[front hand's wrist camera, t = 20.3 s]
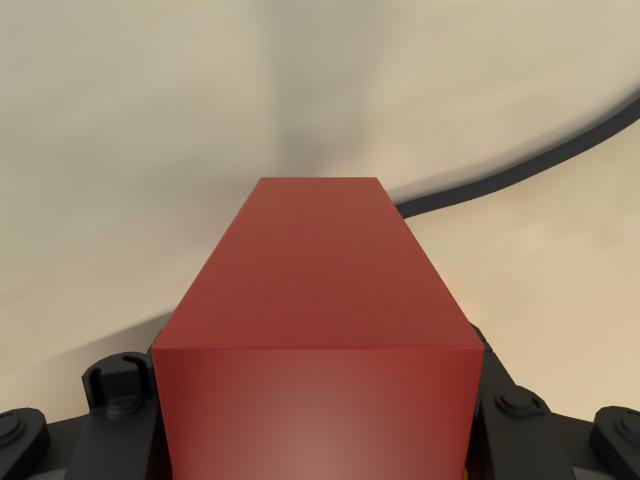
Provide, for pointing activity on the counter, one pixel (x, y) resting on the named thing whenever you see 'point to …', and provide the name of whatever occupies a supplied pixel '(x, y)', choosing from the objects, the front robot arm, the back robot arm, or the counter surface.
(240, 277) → the brick
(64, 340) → the counter surface
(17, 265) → the counter surface
